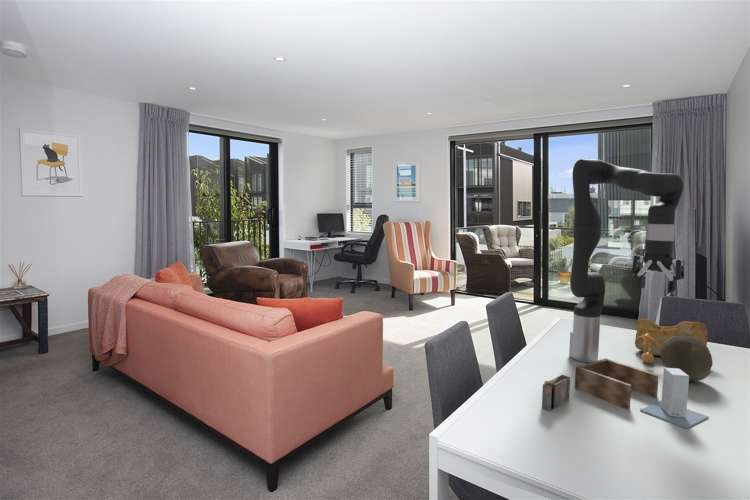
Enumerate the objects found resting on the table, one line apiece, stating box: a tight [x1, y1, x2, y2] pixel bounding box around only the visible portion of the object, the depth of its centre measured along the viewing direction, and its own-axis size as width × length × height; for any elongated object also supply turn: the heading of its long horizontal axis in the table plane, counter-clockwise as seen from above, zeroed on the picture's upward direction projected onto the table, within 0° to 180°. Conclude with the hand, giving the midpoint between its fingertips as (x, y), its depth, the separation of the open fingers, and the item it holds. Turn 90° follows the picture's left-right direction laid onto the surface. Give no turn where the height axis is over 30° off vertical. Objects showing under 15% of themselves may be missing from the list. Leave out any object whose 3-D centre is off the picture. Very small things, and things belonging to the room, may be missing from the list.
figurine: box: [634, 333, 660, 364], centre depth 165 cm, size 8×6×12 cm
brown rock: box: [660, 336, 713, 382], centre depth 150 cm, size 14×14×15 cm
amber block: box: [634, 318, 709, 357], centre depth 176 cm, size 23×17×15 cm
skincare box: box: [660, 367, 690, 418], centre depth 125 cm, size 6×4×12 cm
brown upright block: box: [541, 374, 571, 412], centre depth 131 cm, size 11×3×10 cm, turn 131°
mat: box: [639, 400, 710, 430], centre depth 126 cm, size 12×12×1 cm
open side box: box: [574, 358, 660, 410], centre depth 140 cm, size 17×16×7 cm
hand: (655, 290), depth 139 cm, fingers open, 8 cm apart
